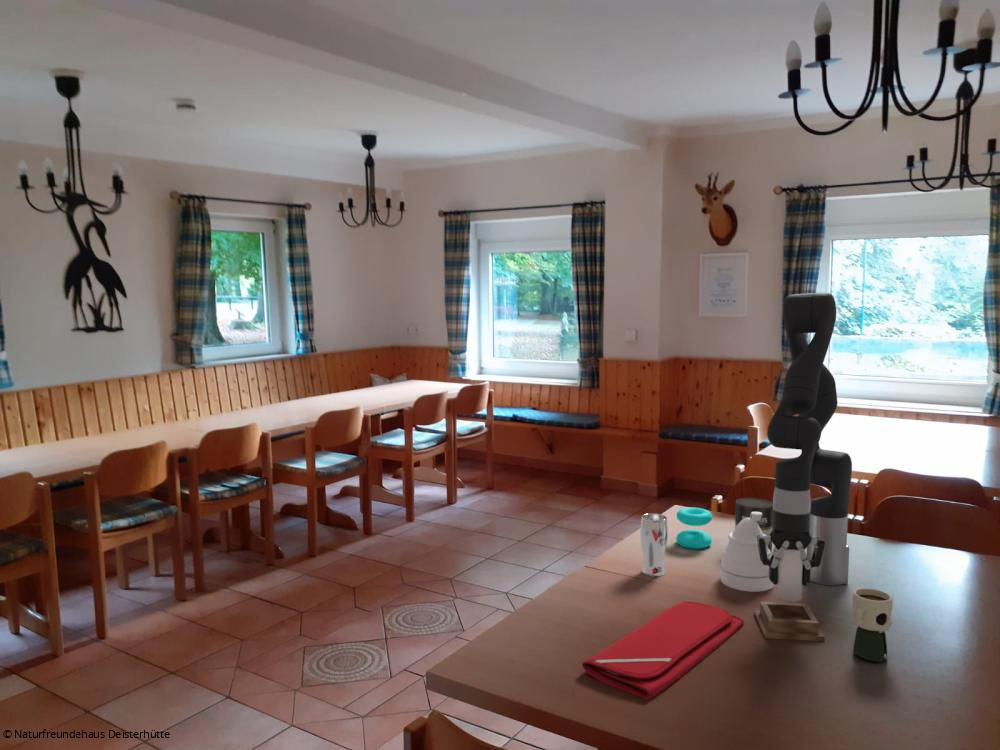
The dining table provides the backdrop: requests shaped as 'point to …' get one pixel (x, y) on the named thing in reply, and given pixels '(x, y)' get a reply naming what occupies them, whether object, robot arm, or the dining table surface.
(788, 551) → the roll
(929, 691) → the dining table surface
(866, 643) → the character mug
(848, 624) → the dining table surface
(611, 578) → the dining table surface
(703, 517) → the donuts
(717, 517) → the dining table surface
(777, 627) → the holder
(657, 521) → the beer glass
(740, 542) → the honey pot
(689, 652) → the red folded cloth
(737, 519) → the coffee can
